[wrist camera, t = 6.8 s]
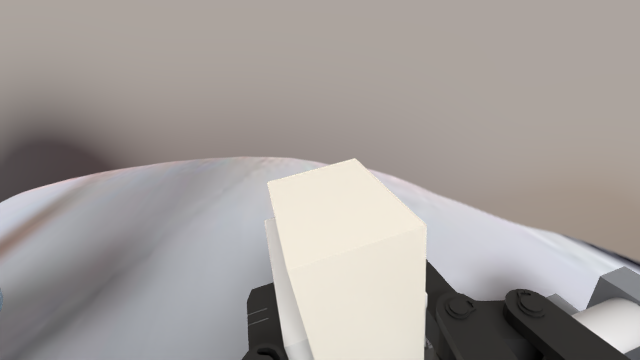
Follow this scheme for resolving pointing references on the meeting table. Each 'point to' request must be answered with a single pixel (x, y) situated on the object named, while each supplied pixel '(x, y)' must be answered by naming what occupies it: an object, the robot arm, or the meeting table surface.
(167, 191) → the meeting table surface
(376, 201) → the sleeve
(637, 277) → the pipe stand
